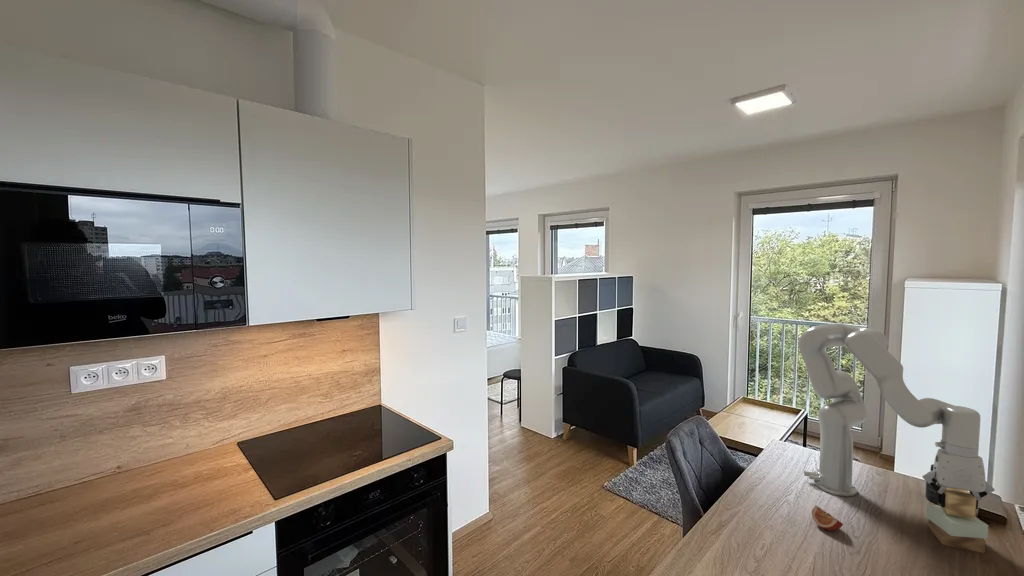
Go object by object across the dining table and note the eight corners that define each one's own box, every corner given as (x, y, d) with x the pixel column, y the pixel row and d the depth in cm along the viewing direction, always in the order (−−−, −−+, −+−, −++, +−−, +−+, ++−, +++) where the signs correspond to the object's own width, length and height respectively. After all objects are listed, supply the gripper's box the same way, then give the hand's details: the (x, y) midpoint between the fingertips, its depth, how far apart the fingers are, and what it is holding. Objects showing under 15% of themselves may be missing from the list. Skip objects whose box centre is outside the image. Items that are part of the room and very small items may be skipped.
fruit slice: (806, 520, 136) (807, 505, 136) (825, 518, 137) (826, 503, 137) (828, 536, 128) (829, 521, 128) (848, 535, 129) (849, 519, 128)
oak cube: (947, 513, 124) (948, 494, 124) (937, 503, 130) (938, 484, 129) (975, 518, 122) (976, 498, 121) (964, 507, 127) (965, 488, 127)
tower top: (951, 535, 122) (951, 522, 122) (926, 517, 131) (926, 504, 131) (987, 538, 121) (988, 525, 120) (959, 519, 129) (960, 507, 129)
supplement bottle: (959, 507, 142) (960, 473, 141) (935, 505, 143) (936, 471, 142) (942, 496, 148) (944, 463, 147) (919, 494, 150) (921, 461, 149)
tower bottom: (942, 545, 124) (943, 532, 124) (928, 528, 132) (928, 515, 132) (984, 554, 120) (985, 541, 120) (967, 535, 128) (968, 523, 128)
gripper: (926, 448, 125) (923, 507, 126) (1008, 460, 117) (1004, 522, 119) (915, 439, 132) (912, 494, 133) (992, 449, 124) (988, 507, 125)
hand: (955, 507), depth 126 cm, fingers closed on oak cube, 6 cm apart
